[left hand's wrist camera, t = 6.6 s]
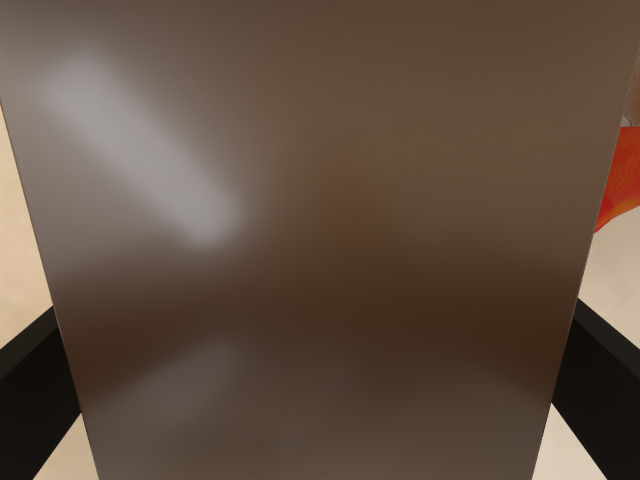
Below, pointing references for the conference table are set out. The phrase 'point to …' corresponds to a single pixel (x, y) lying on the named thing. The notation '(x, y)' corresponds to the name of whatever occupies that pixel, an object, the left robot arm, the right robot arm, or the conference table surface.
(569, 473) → the conference table surface
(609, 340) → the left robot arm
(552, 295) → the box
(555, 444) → the conference table surface
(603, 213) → the fish
